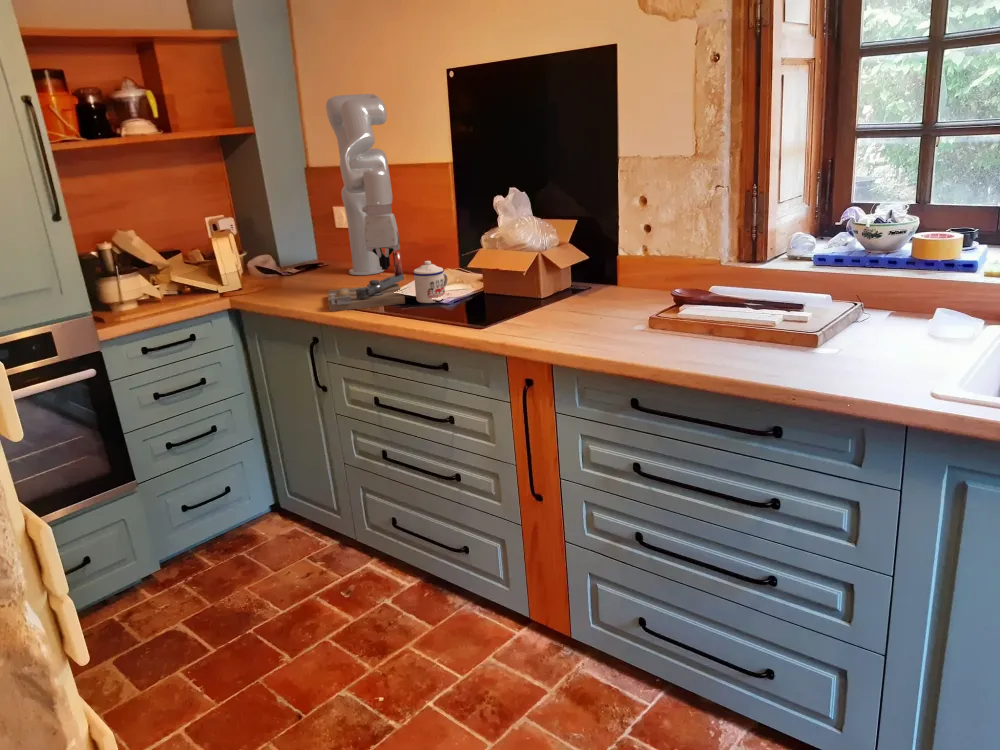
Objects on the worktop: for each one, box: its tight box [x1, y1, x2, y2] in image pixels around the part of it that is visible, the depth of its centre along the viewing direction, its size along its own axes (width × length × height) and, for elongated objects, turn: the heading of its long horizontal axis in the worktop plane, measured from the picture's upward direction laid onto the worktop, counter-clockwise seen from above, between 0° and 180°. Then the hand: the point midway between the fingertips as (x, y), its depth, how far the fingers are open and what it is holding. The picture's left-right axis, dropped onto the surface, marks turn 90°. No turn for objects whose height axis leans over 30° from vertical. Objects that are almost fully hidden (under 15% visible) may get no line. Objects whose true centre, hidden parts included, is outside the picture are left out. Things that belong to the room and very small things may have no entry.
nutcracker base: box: [327, 279, 406, 312], centre depth 229 cm, size 21×22×6 cm
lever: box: [356, 251, 405, 299], centre depth 230 cm, size 23×5×10 cm, turn 158°
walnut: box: [336, 287, 350, 297], centre depth 221 cm, size 4×4×4 cm
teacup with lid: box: [412, 260, 449, 304], centre depth 225 cm, size 12×9×12 cm
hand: (385, 268), depth 240 cm, fingers closed
